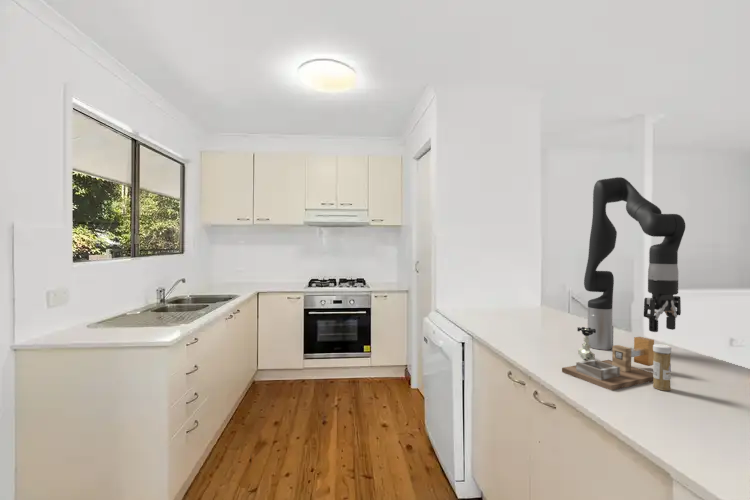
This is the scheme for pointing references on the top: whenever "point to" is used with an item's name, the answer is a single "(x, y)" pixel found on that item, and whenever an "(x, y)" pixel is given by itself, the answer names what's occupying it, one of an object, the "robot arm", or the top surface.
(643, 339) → the bar
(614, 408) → the top surface
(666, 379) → the spice jar
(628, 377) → the socket base
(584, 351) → the valve
